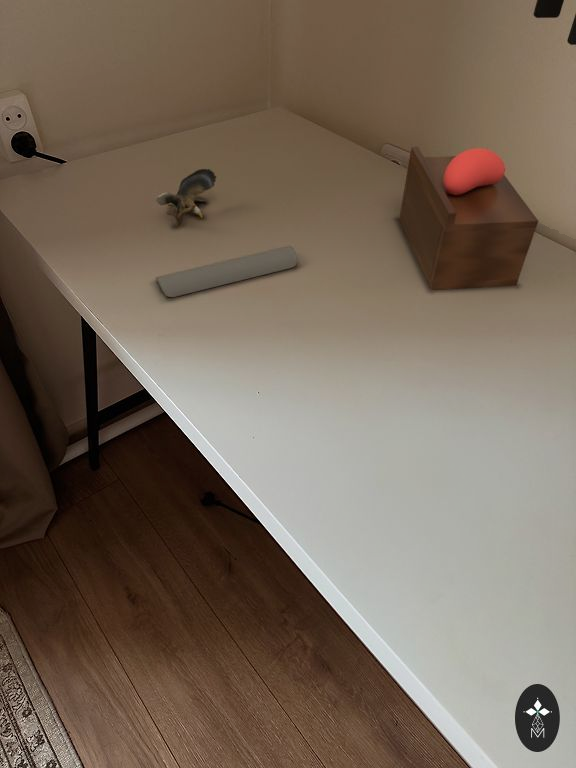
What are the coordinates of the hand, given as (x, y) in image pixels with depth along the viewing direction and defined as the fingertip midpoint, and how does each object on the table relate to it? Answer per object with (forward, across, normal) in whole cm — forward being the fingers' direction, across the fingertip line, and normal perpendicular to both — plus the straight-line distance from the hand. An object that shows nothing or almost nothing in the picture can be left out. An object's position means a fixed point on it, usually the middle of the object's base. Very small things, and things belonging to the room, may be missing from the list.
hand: (562, 29), depth 75 cm
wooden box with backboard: (+28, -3, +8) cm, 30 cm away
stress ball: (+18, -3, +8) cm, 20 cm away
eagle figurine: (+28, +10, +46) cm, 55 cm away
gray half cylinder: (+28, -6, +41) cm, 50 cm away
